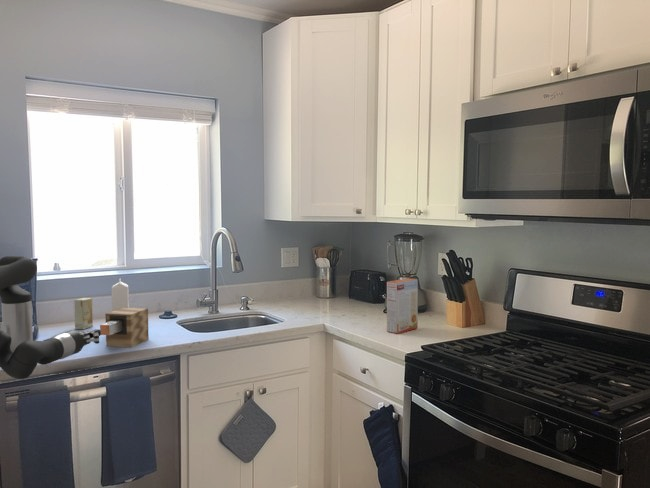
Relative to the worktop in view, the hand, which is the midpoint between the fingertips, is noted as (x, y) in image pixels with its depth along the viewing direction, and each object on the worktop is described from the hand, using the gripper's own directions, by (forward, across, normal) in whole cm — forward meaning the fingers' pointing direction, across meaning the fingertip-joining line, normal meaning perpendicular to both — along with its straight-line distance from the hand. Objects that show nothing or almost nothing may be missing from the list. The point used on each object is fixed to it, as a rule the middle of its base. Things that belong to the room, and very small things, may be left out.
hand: (98, 332), depth 184 cm
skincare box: (+36, +32, +8) cm, 49 cm away
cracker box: (+60, -99, +8) cm, 116 cm away
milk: (+31, +11, +8) cm, 34 cm away
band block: (+18, 0, +8) cm, 19 cm away
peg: (+10, 0, +2) cm, 10 cm away
